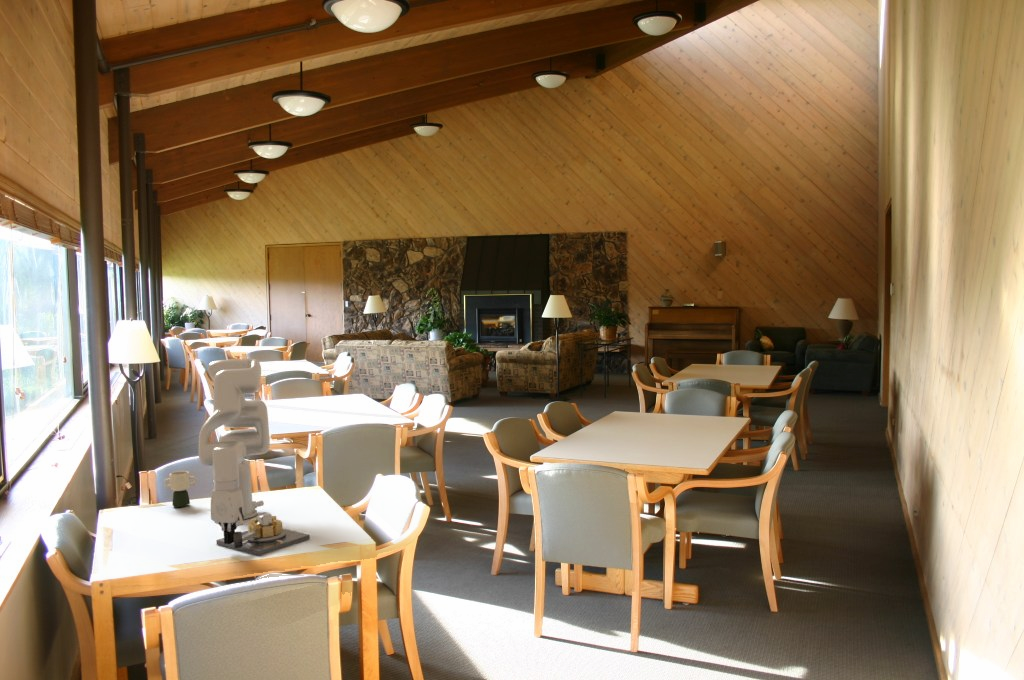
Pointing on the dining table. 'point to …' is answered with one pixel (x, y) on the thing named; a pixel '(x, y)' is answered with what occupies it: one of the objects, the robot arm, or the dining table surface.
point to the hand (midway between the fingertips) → (229, 542)
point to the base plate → (267, 539)
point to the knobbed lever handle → (258, 531)
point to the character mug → (180, 487)
